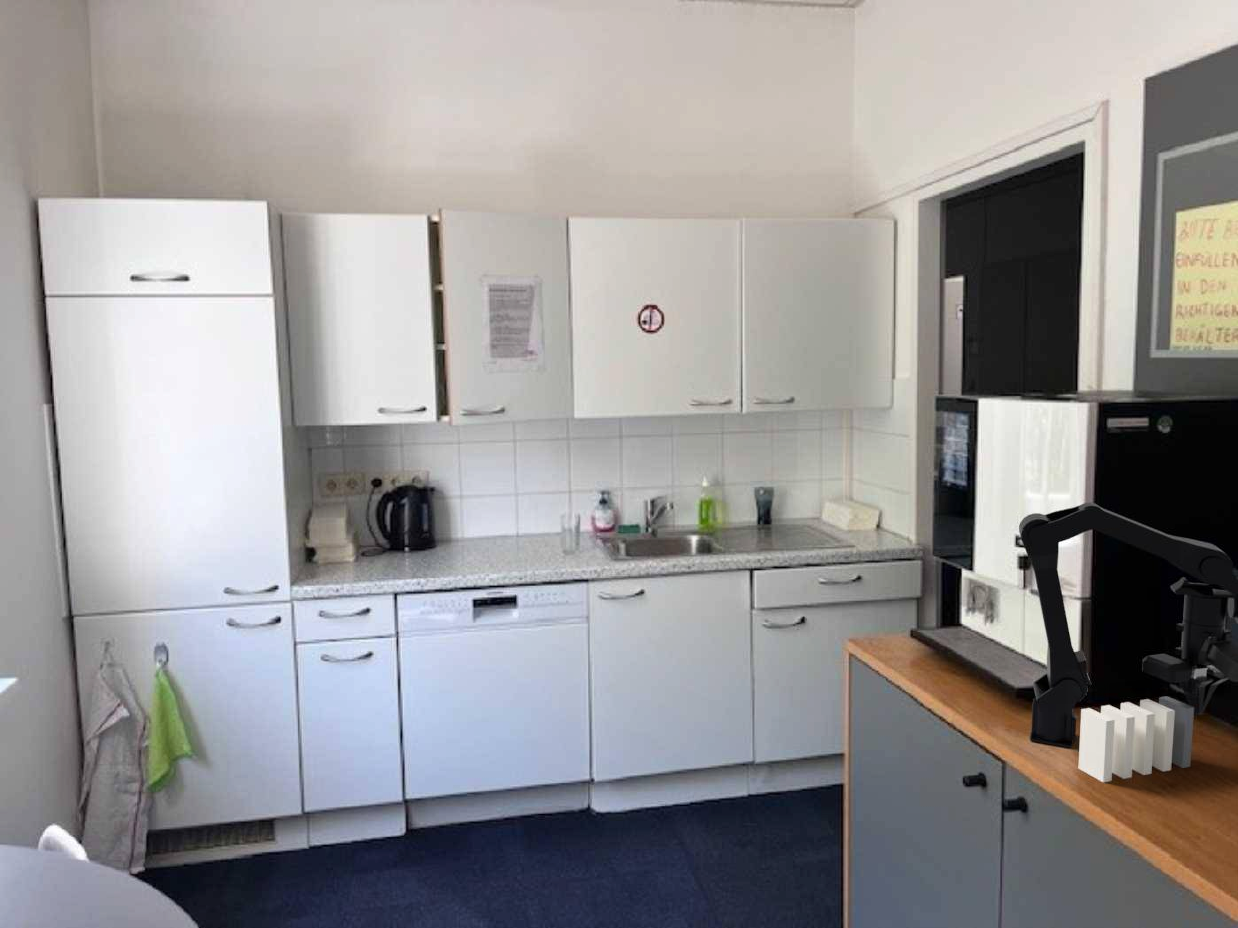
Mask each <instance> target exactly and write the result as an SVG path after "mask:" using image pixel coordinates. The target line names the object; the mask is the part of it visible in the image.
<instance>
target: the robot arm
mask: <svg viewBox="0 0 1238 928" xmlns="http://www.w3.org/2000/svg"><path fill="white" fill-rule="evenodd" d="M1091 530H1092V531H1096V532H1098V533H1100V534H1102V535H1105V536H1108V537H1111V538H1113V539H1115V540H1118V541H1120V542H1123V543H1125V544H1128V545H1130V546H1133V547H1135V548H1137V549H1139V550H1142V551H1145V552H1147V553H1150V554H1152V555H1154V556H1157V557H1160V558H1161V559H1164V560H1165V561H1166V562H1169V563H1170V564H1172V565H1173V566H1175V567H1177V568H1178V569H1179V570H1181V571H1182V572H1184V573H1186V574H1187V575H1188V576H1190V577H1192V578H1193V579H1195V580H1197V581H1199V582H1189V580H1188V579H1186V577H1184V576H1182V577H1181V578H1180V579H1179V580H1178V581H1177V582H1174V583H1173V584H1171V585H1170V589H1171V590H1172V592H1174V593H1175V594H1176V595H1184V600H1183V601H1184V602H1183V612H1182V613H1183V615H1182V617H1183V619H1182V623H1181V622H1180V623H1176V626H1175V627H1176V628H1175V630H1176V631H1179V632H1181V643H1180V644H1181V645H1180V646H1178V647H1174V655H1177V656H1180V657H1181V658H1178V657H1175V656H1172V655H1169V654H1166V653H1159V654H1151V655H1147V656H1145V657H1144V658H1142V666H1141V667H1142V668H1141V672H1143V673H1146V674H1148V675H1150V676H1153V677H1156V678H1158V679H1160V680H1162V681H1165V682H1167V683H1173V684H1178V683H1179V686H1180V687H1181V689H1182V691H1183V694H1184V696H1185V699H1186V700H1187V702H1188V705H1189V706H1192V707H1194V714H1196V715H1203V714H1204V711H1205V710H1206V707H1207V705H1208V704H1209V701H1210V699H1211V698H1212V696H1213V694H1214V692H1215V691H1216V689H1217V687H1218V686H1219V684H1221V683H1223V682H1226V681H1227V680H1229V681H1231V682H1235V683H1236V682H1238V645H1237V644H1236V643H1234V640H1233V637H1234V635H1233V633H1232V630H1229V629H1226V618H1227V617H1226V615H1227V613H1228V616H1229V618H1232V619H1234V620H1235V622H1236V624H1237V625H1238V577H1237V576H1236V575H1235V573H1234V572H1233V571H1234V563H1233V561H1232V559H1231V557H1230V556H1229V555H1228V554H1227V553H1225V552H1224V551H1223V550H1222V549H1221V548H1219V547H1218V546H1216V545H1214V544H1213V543H1210V542H1205V541H1200V540H1197V539H1191V538H1188V537H1187V538H1186V537H1181V536H1176V535H1172V534H1167V533H1165V532H1163V531H1161V530H1158V529H1155V528H1153V527H1150V526H1148V525H1146V524H1143V523H1140V522H1138V521H1135V520H1134V519H1130V518H1128V517H1125V516H1123V515H1120V514H1118V513H1115V512H1113V511H1110V510H1108V509H1105V508H1103V507H1101V506H1099V505H1098V504H1097V503H1095V502H1083V503H1082V504H1080V505H1077V506H1073V507H1069V508H1065V509H1060V510H1055V511H1053V512H1048V513H1046V514H1043V513H1037V512H1035V513H1031V514H1030V513H1029V514H1028V515H1026V516H1025V517H1023V519H1022V520H1021V521H1020V523H1019V525H1018V533H1019V535H1020V538H1021V542H1022V545H1023V547H1024V549H1025V552H1026V555H1027V556H1028V559H1029V561H1030V564H1031V567H1032V569H1033V573H1034V578H1035V584H1036V588H1037V594H1038V598H1039V603H1040V605H1039V606H1040V609H1041V615H1042V620H1043V626H1044V630H1045V631H1044V632H1045V635H1046V641H1047V653H1046V654H1047V655H1046V673H1044V675H1042V676H1041V677H1039V678H1037V679H1036V680H1035V681H1034V682H1033V683H1032V685H1033V690H1034V695H1035V697H1034V698H1033V699H1032V705H1031V729H1030V733H1029V734H1030V735H1029V741H1031V742H1035V743H1041V744H1045V745H1046V744H1048V745H1052V746H1058V747H1065V748H1072V747H1073V742H1075V741H1076V735H1077V713H1076V712H1074V708H1075V705H1076V704H1077V703H1079V702H1080V701H1081V700H1082V699H1083V698H1084V697H1085V696H1086V695H1087V692H1088V686H1087V684H1089V685H1091V684H1092V683H1091V681H1090V678H1089V676H1088V673H1087V661H1086V658H1085V656H1084V653H1083V651H1082V650H1083V649H1082V650H1081V649H1080V650H1078V651H1075V650H1074V647H1073V646H1072V644H1073V643H1072V638H1071V634H1070V630H1069V629H1070V628H1069V622H1068V618H1067V614H1066V608H1065V603H1064V598H1063V591H1062V588H1061V581H1060V577H1059V573H1058V572H1059V571H1058V567H1059V566H1058V565H1059V564H1058V563H1059V548H1060V547H1059V543H1061V542H1064V541H1067V540H1070V539H1072V538H1075V537H1076V536H1077V537H1078V536H1079V535H1081V534H1083V533H1086V532H1088V531H1091ZM1215 585H1218V586H1219V587H1221V588H1222V589H1215V588H1213V587H1212V586H1215Z"/></svg>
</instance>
